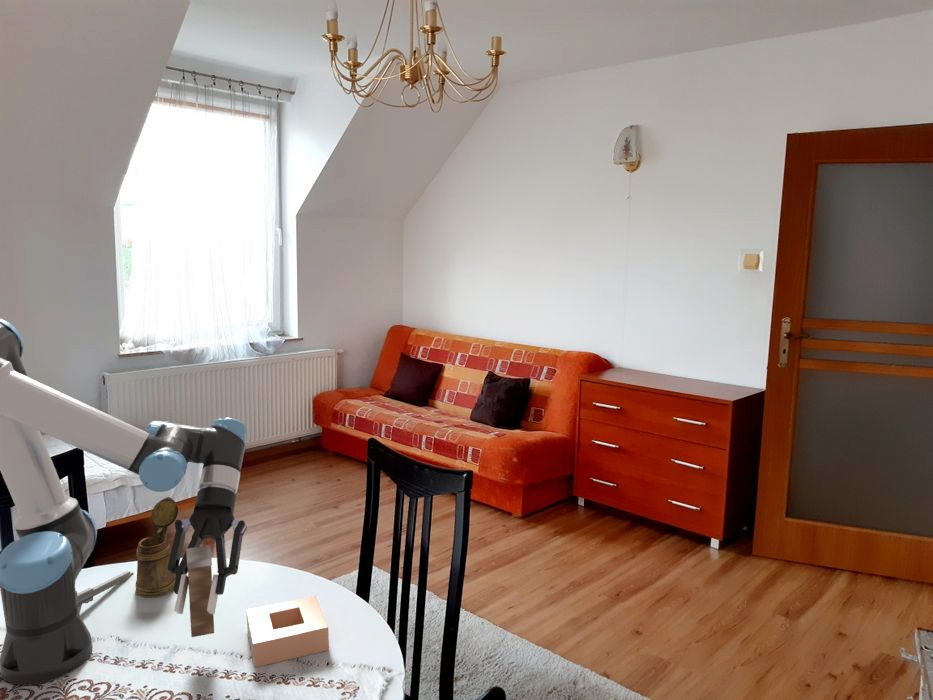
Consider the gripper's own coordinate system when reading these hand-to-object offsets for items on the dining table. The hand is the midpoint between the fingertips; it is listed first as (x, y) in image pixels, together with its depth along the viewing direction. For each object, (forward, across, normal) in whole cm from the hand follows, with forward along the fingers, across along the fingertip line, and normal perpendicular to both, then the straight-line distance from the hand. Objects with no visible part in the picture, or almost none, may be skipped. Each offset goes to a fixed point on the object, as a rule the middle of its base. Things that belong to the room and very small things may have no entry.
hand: (194, 612), depth 131 cm
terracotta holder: (+2, -15, -14) cm, 21 cm away
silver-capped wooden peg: (+2, 0, -7) cm, 7 cm away
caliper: (-9, +28, -27) cm, 40 cm away
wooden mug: (-13, +18, -31) cm, 38 cm away
